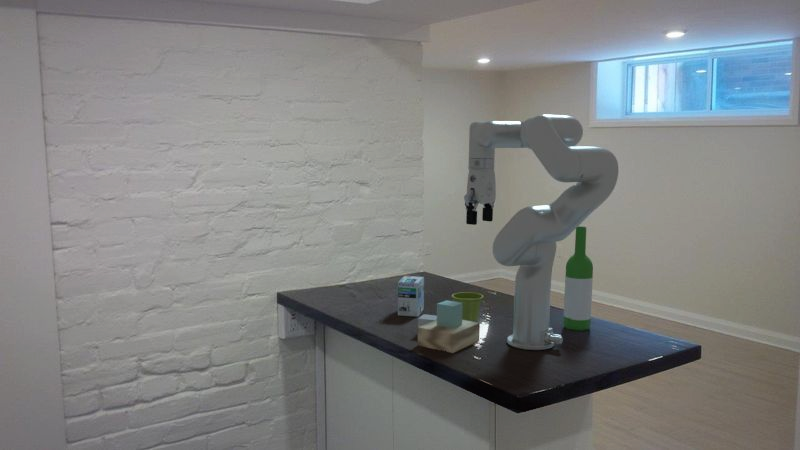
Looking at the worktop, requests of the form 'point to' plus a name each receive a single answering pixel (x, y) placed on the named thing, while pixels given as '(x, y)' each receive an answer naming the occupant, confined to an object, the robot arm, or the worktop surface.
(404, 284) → the light bulb box
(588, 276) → the wine bottle
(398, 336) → the worktop surface
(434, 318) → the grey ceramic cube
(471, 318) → the plant pot
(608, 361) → the worktop surface
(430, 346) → the oak pedestal
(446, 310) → the teal block
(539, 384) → the worktop surface
